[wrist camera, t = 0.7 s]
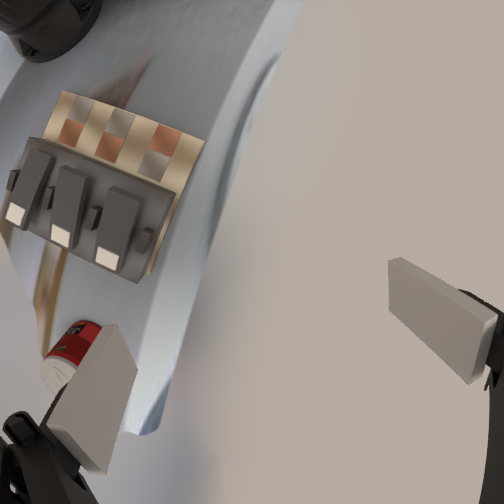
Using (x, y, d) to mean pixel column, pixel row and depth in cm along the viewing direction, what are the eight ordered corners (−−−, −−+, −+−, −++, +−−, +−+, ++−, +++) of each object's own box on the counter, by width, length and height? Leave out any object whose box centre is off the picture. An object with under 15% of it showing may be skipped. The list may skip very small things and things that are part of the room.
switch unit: (66, 92, 30) (40, 80, 23) (205, 142, 34) (201, 134, 27) (25, 211, 33) (-4, 219, 26) (150, 271, 38) (137, 292, 31)
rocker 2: (113, 185, 27) (107, 189, 26) (143, 198, 28) (138, 202, 27) (96, 255, 31) (91, 261, 30) (122, 268, 32) (118, 274, 30)
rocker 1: (35, 150, 27) (30, 147, 25) (55, 159, 27) (50, 156, 26) (7, 219, 26) (2, 219, 25) (27, 230, 27) (21, 230, 26)
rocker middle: (65, 164, 26) (58, 167, 25) (90, 175, 27) (84, 179, 25) (53, 234, 30) (47, 239, 28) (76, 246, 30) (70, 251, 29)
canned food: (82, 309, 38) (49, 347, 27) (123, 343, 40) (101, 389, 29) (63, 338, 39) (32, 377, 28) (100, 369, 41) (78, 414, 30)
